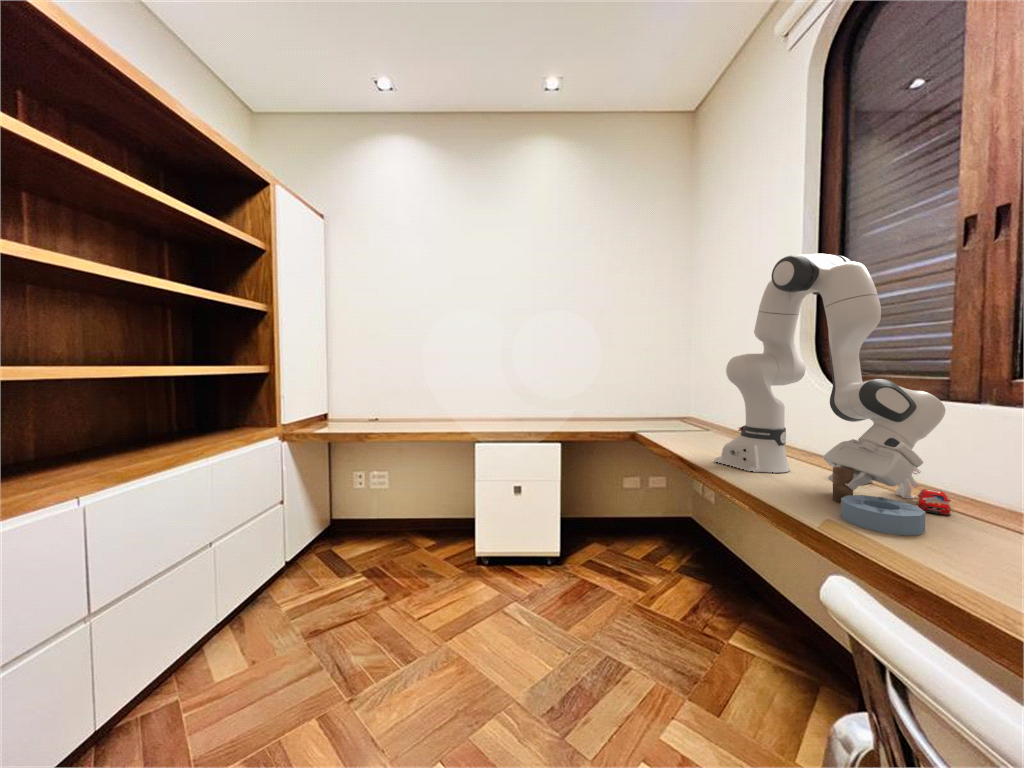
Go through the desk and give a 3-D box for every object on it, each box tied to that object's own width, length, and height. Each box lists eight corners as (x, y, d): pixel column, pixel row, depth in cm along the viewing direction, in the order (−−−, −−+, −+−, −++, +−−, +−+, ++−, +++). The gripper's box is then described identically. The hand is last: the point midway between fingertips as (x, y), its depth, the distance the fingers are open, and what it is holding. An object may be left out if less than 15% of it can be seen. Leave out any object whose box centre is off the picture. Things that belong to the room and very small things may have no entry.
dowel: (829, 500, 100) (830, 468, 100) (836, 498, 102) (836, 465, 102) (849, 505, 96) (849, 471, 96) (855, 502, 98) (856, 469, 98)
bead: (831, 519, 88) (832, 501, 88) (855, 508, 95) (855, 491, 94) (912, 540, 77) (912, 520, 77) (932, 526, 84) (932, 507, 83)
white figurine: (884, 490, 107) (885, 447, 107) (902, 491, 106) (903, 447, 106) (906, 501, 99) (907, 454, 98) (926, 502, 98) (927, 455, 97)
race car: (951, 519, 88) (951, 501, 88) (916, 513, 92) (916, 496, 92) (950, 504, 97) (950, 488, 96) (918, 499, 101) (918, 484, 101)
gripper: (840, 430, 108) (803, 465, 109) (910, 445, 88) (863, 487, 89) (857, 446, 108) (820, 481, 109) (931, 464, 88) (884, 507, 89)
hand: (840, 484), depth 99 cm, fingers closed on dowel, 4 cm apart
